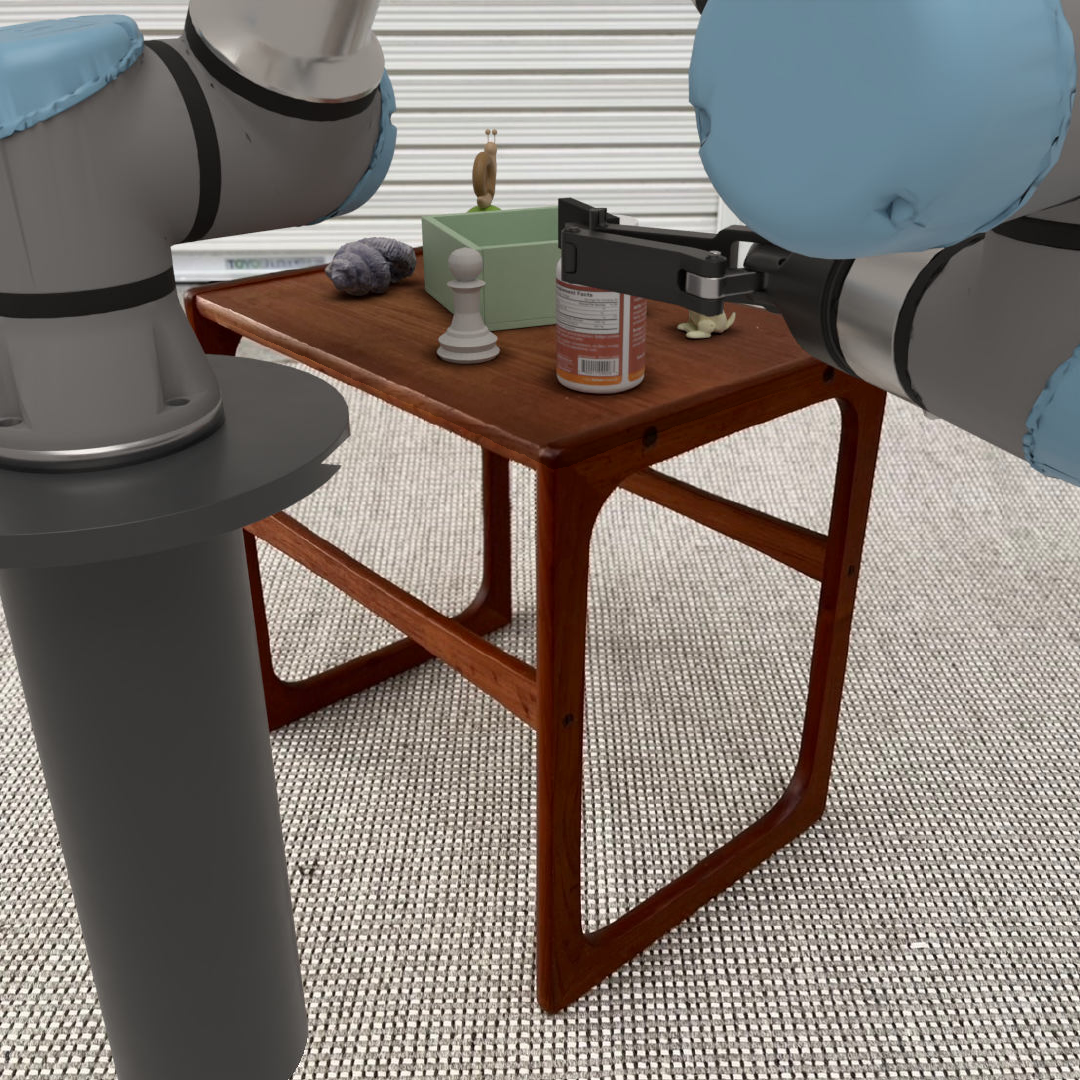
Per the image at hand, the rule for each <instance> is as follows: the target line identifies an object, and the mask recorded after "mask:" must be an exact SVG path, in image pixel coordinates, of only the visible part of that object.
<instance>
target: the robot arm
mask: <svg viewBox="0 0 1080 1080" xmlns="http://www.w3.org/2000/svg"><path fill="white" fill-rule="evenodd" d="M690 1H691V2H692V4H693V6H694V7H695V8H696V11H698V13H699V14H700V16H699V21H698V24H697V27H696V31H695V34H694V40H693V45H692V50H691V57H690V60H689V61H690V62H689V67H688V72H687V73H688V76H687V77H688V102H689V104H690V105H691V106H692V107H693V108H694V115H695V123H696V130H697V134H698V138H699V143H700V145H699V149H698V156H699V159H700V161H701V164H702V166H703V169H704V172H705V173H706V175H707V178H708V179H709V181H710V184H711V185H712V187H713V189H714V190H715V192H716V193H717V194H718V195H719V197H720V198H721V201H722V202H723V203H724V204H725V205H726V207H727V208H728V209H729V210H730V211H731V212H732V214H734V215H735V217H736V218H737V219H738V220H739V221H740V222H742V223H743V225H741V224H730V225H729V226H726V227H724V228H722V229H720V230H719V231H718V232H717V233H716V232H715V233H713V232H703V231H701V232H700V231H693V230H683V229H672V228H661V227H653V226H652V227H650V226H640V225H638V226H631V225H620V218H619V217H617V216H614V215H612V213H610V212H608V208H607V207H595V206H592V205H590V204H587V203H585V202H583V201H580V200H577V199H575V198H573V197H570V196H569V197H558V198H557V206H558V248H559V249H561V280H562V281H564V282H568V283H569V284H578V285H583V286H587V287H592V288H597V289H602V290H607V291H611V292H616V293H621V294H626V295H631V296H636V297H640V298H645V299H647V300H650V301H655V302H660V303H665V304H670V305H673V306H674V305H675V306H678V307H681V308H683V309H686V310H688V311H689V310H691V311H693V312H696V313H698V314H702V315H704V316H707V317H713V316H715V315H716V316H718V315H720V314H722V313H723V309H724V308H725V307H724V306H725V303H732V304H741V305H750V306H759V307H762V308H764V309H765V310H766V311H767V312H768V313H772V314H779V315H780V314H781V316H782V318H783V320H784V322H785V324H786V326H787V328H788V329H789V332H790V334H791V335H792V337H793V339H794V341H795V342H796V343H797V344H798V345H799V346H800V348H801V349H802V350H804V352H805V353H807V354H808V355H810V356H811V357H813V358H814V359H816V360H818V361H820V362H822V363H825V364H827V365H828V366H830V367H833V368H834V369H837V370H838V371H841V372H843V373H845V374H846V375H849V376H851V377H853V378H856V379H858V380H863V381H865V382H866V383H868V384H870V385H872V386H875V387H876V388H878V389H880V390H882V391H884V392H887V393H889V394H891V395H893V396H894V397H896V398H899V399H901V400H903V401H905V402H906V403H907V402H908V403H909V404H911V405H913V406H915V407H918V408H920V409H921V410H922V413H923V416H924V417H925V418H926V419H929V420H930V421H934V420H943V421H945V422H947V423H949V424H951V425H953V426H954V427H956V428H959V429H961V430H963V431H964V432H967V433H968V434H970V435H973V436H974V437H977V438H978V439H980V440H982V441H985V442H987V443H988V444H991V445H993V446H994V447H997V448H998V449H1000V450H1002V451H1003V452H1006V453H1008V454H1011V455H1012V456H1014V457H1016V458H1018V459H1020V460H1023V461H1024V462H1026V463H1027V464H1029V466H1030V468H1032V469H1034V470H1035V471H1037V472H1038V473H1039V474H1041V475H1042V476H1044V477H1047V478H1052V479H1055V480H1060V481H1063V482H1065V483H1068V484H1071V485H1072V486H1075V487H1078V488H1080V0H690ZM188 2H189V3H188V8H187V11H186V15H185V21H184V26H183V31H182V34H181V35H180V36H179V37H177V38H176V37H174V38H158V39H149V40H148V39H147V40H145V37H144V34H143V33H142V31H141V30H140V27H139V25H138V23H137V21H135V19H134V18H133V17H131V16H129V15H125V14H117V13H112V14H111V13H110V14H108V13H107V14H92V15H90V14H89V15H79V16H72V17H65V18H60V19H45V20H38V21H30V22H23V23H16V24H10V25H6V26H0V468H2V469H7V470H12V471H19V472H29V473H53V474H54V473H79V472H91V471H100V470H107V469H114V468H120V467H126V466H131V465H135V464H140V463H144V462H148V461H152V460H156V459H159V458H162V457H165V456H169V455H172V454H174V453H177V452H180V451H182V450H185V449H187V448H189V447H191V446H193V445H195V444H197V443H199V442H201V441H203V440H204V439H206V438H207V437H209V436H210V435H212V434H213V433H214V432H215V431H216V430H217V429H218V428H219V427H220V426H221V424H222V423H223V420H224V406H223V399H222V393H221V390H220V387H219V383H218V380H217V378H216V375H215V373H214V371H213V369H212V367H211V365H210V363H209V361H208V359H207V357H206V355H205V354H206V353H205V350H204V349H203V347H202V345H201V343H200V341H199V339H198V337H197V335H196V333H195V331H194V328H193V327H192V325H191V323H190V321H189V318H188V316H187V315H186V312H185V310H184V308H183V306H182V305H181V302H180V299H179V295H178V289H177V284H176V283H177V282H176V277H175V271H174V269H175V268H174V265H173V264H174V261H173V260H174V259H173V254H172V247H173V246H176V245H181V244H182V245H183V244H188V243H194V242H202V241H208V240H215V239H221V238H228V237H229V238H230V237H236V236H241V235H248V234H255V233H263V232H269V231H277V230H282V229H283V230H284V229H291V228H301V227H310V226H316V225H318V224H321V223H323V222H325V221H328V220H330V219H334V218H338V217H341V216H344V215H348V214H350V213H353V212H355V211H357V210H358V209H359V208H361V207H363V206H364V205H365V204H366V203H367V202H368V201H370V200H371V199H372V198H373V196H374V195H375V194H376V193H377V191H378V190H379V188H380V187H381V186H382V184H383V183H384V180H385V179H386V177H387V175H388V173H389V171H390V168H391V164H392V162H393V158H394V155H395V150H396V145H397V144H396V143H397V138H398V137H397V135H398V128H397V126H396V125H394V124H393V123H392V120H391V119H392V115H393V114H394V113H395V112H397V102H396V96H395V91H394V87H393V84H392V81H391V79H390V77H389V74H388V71H387V69H386V65H385V64H386V61H385V54H384V51H383V47H382V45H381V43H380V41H379V39H378V37H377V36H376V34H375V32H374V31H373V29H372V27H373V25H374V23H375V19H376V16H377V13H378V10H379V8H380V5H381V2H382V0H189V1H188ZM740 242H742V243H744V242H745V243H752V244H751V245H750V247H749V249H748V251H747V253H746V256H745V258H744V260H743V261H742V262H743V263H742V267H738V263H739V251H740V250H739V249H740ZM724 310H725V309H724Z"/></svg>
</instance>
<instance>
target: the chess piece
mask: <svg viewBox="0 0 1080 1080" xmlns="http://www.w3.org/2000/svg"><path fill="white" fill-rule="evenodd" d="M448 267H449V270H450V272H451V274H452V275H453V276H454V277H455V278H456V279H455V280H452V281H449V282H448V283H447V285H448V286H449V287H450V288H451V289H452V290H453V294H454V305H455V313H454V314H453V317H452V320H451V324H450V326H448V327H447V329H446V331H445V332H444V333H442V334H441V335H440V336H439V337H438V343H439V345H440V346H439V347H438V348H437V349H436V353H437V355H438V357H440V359H441V360H443V361H446V362H448V363H452V364H460V365H461V364H462V365H464V364H465V365H468V364H469V365H470V364H471V365H472V364H480V363H485V362H489V361H493V360H494V359H496V358H497V357H498V355H499V354H500V352H501V350H500V347H498V345H497V344H496V343H497V342H498V336H497V335H496V334H494V333H493V331H489V330H488V327H486V326H485V325H484V323H483V320H482V318H481V315H480V312H479V297H480V289H481V288H482V287H483V286H484V285H485V282H484V281H482V280H479V279H476V277H478V276H479V274H480V273H481V270H482V267H483V260H482V257H481V255H480V253H479V252H478V251H476V250H474V249H470V248H466V247H464V248H460V249H457V250H455V251H453V252H452V253H451V255H450V257H449V260H448Z"/></svg>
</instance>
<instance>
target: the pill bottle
mask: <svg viewBox="0 0 1080 1080" xmlns="http://www.w3.org/2000/svg"><path fill="white" fill-rule="evenodd" d="M611 214H612V213H611ZM612 215H614V216H617V217H619V218H620V225H631V226H639V220H638V219H637V218H635V217H633V216H629V215H625V214H624V215H623V214H615V213H613V214H612ZM647 304H648V299H645V298H640V297H636V296H631V295H626V294H621V293H616V292H611V291H607V290H602V289H597V288H592V287H587V286H583V285H578V284H569V283H568V282H564V281H562V280H561V258H560V260H559V262H558V264H557V268H556V324H555V328H556V329H555V338H556V339H555V343H556V344H555V350H556V351H555V352H556V353H555V355H556V356H555V357H556V358H555V362H556V363H555V365H556V366H555V367H556V368H555V369H556V371H555V372H556V378H557V380H558V382H559V384H561V385H562V386H563V387H565V388H568V389H569V390H572V391H576V392H580V393H587V394H598V395H599V394H600V395H603V394H604V395H605V394H606V395H607V394H616V393H617V394H618V393H621V392H626V391H628V390H631V389H634V388H635V387H637V386H639V385H640V384H641V383H642V381H644V378H645V372H646V347H647V346H646V343H647V342H646V341H647V340H646V339H647V338H646V337H647V313H648V312H647V308H648V307H647V306H648V305H647Z"/></svg>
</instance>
